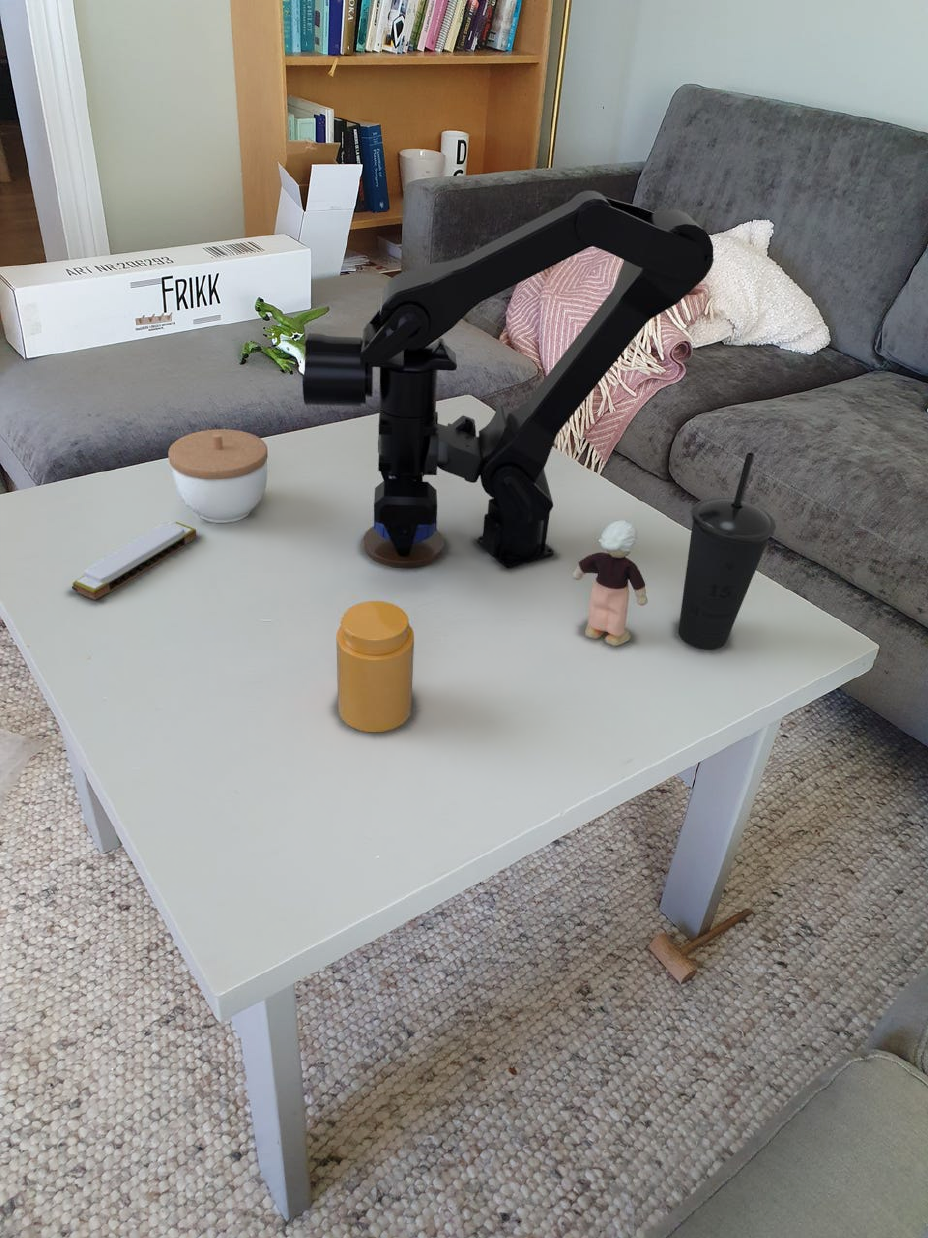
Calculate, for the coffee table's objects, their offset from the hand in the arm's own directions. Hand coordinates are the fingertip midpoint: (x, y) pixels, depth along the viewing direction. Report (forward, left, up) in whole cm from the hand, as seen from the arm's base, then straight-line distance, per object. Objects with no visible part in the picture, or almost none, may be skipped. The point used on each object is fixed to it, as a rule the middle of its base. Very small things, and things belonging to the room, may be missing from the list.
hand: (403, 539), depth 102 cm
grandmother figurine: (-10, +23, -1) cm, 25 cm away
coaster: (0, 0, -1) cm, 1 cm away
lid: (0, 0, +3) cm, 3 cm away
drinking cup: (-19, +28, -1) cm, 34 cm away
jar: (+15, +23, -1) cm, 27 cm away
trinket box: (+15, -16, -1) cm, 22 cm away
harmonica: (+27, -9, -1) cm, 28 cm away
